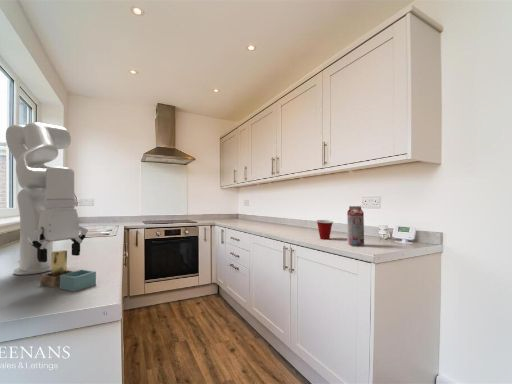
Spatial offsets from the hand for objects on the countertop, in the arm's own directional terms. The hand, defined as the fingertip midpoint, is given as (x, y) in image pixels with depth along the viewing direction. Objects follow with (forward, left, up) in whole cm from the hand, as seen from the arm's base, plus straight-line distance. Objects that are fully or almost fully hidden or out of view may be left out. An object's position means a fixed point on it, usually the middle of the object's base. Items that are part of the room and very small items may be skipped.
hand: (60, 258), depth 81 cm
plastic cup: (+68, +119, -8) cm, 138 cm away
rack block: (+9, 0, -8) cm, 12 cm away
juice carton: (+87, +102, -8) cm, 135 cm away
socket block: (-1, 0, -8) cm, 8 cm away
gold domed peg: (-1, 0, -8) cm, 8 cm away
